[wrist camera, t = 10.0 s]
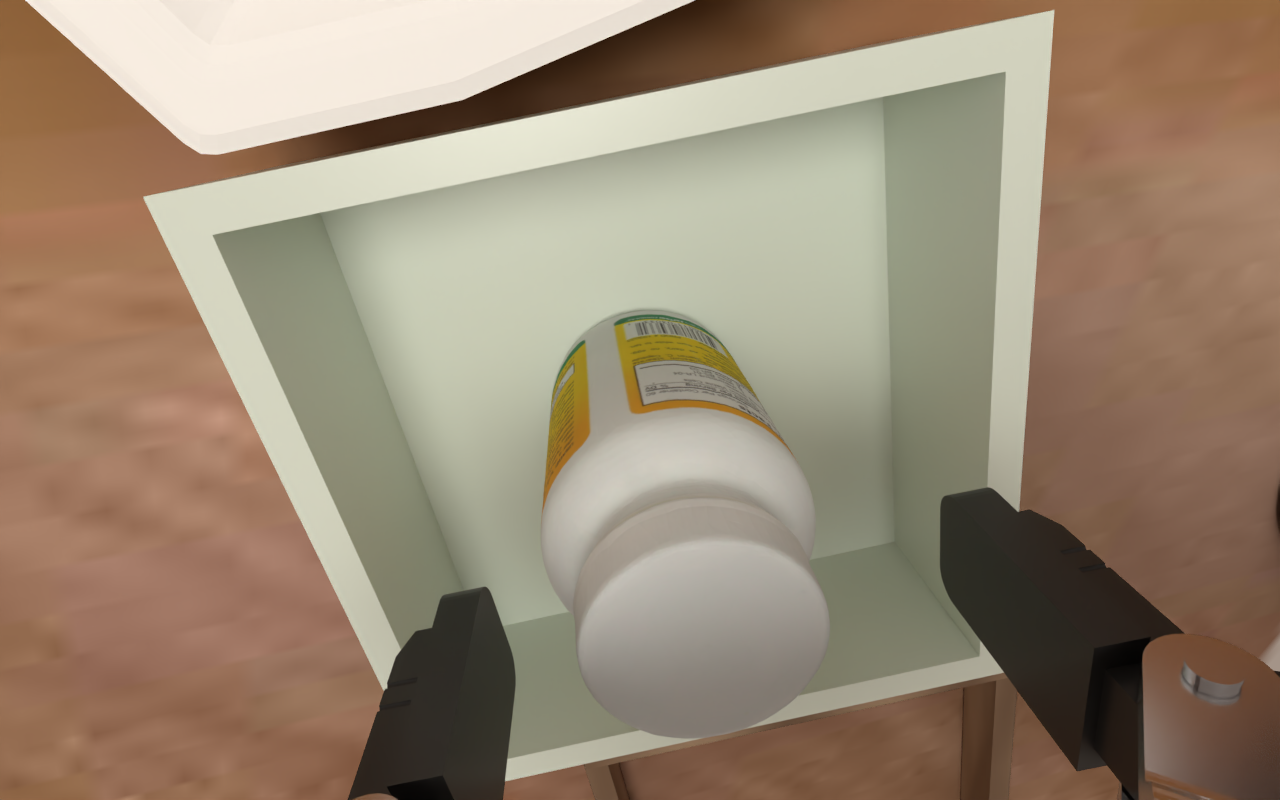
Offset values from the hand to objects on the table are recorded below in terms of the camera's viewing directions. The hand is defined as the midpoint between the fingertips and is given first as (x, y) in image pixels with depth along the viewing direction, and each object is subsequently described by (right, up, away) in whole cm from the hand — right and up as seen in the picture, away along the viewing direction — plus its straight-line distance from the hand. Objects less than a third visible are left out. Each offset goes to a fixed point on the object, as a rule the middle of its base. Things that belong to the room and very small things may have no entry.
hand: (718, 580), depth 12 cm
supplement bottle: (-1, +3, +7) cm, 8 cm away
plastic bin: (-1, +4, +8) cm, 9 cm away
